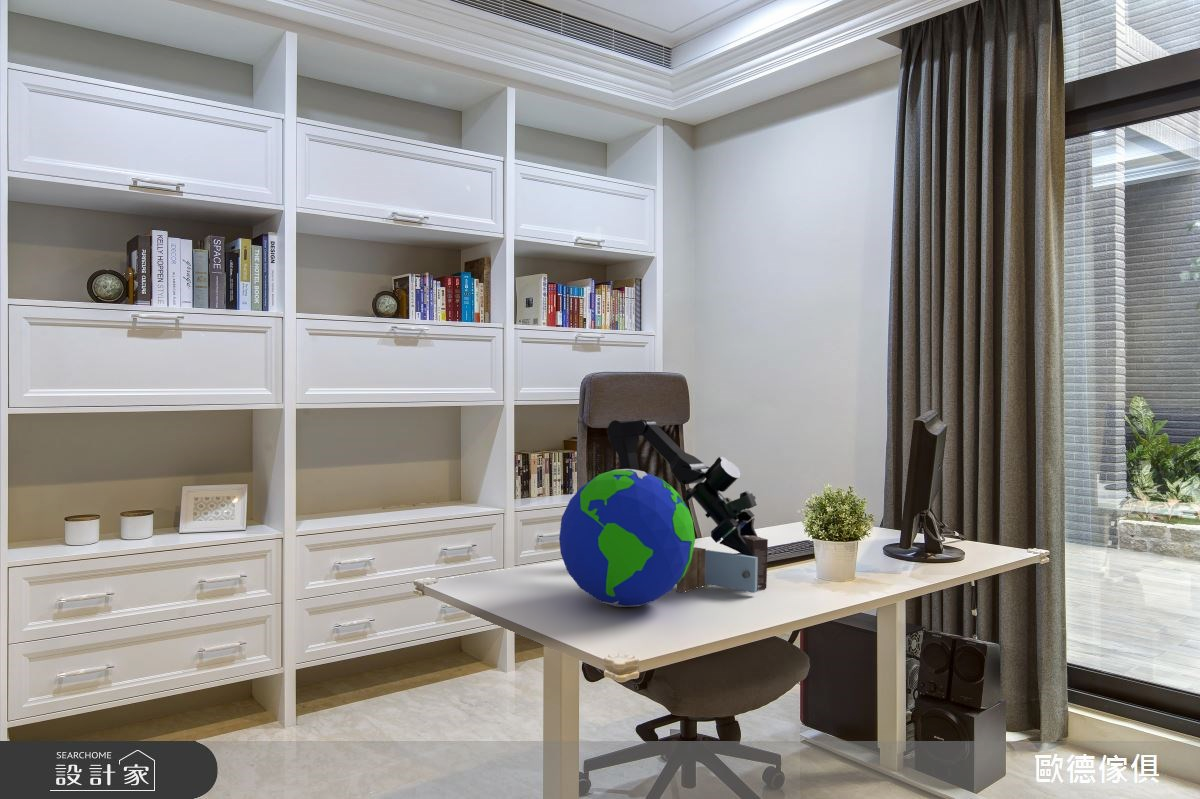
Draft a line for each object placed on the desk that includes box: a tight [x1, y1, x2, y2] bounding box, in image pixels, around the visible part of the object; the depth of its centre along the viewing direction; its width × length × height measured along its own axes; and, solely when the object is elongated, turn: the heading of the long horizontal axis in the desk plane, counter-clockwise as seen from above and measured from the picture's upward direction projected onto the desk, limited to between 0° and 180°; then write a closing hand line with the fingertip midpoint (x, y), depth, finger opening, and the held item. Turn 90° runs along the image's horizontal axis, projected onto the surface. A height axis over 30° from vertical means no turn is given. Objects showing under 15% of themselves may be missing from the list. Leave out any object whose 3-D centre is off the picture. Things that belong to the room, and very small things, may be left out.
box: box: [739, 535, 769, 590], centre depth 199 cm, size 6×4×12 cm
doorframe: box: [676, 546, 707, 593], centre depth 202 cm, size 22×3×9 cm, turn 142°
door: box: [705, 549, 758, 594], centre depth 193 cm, size 13×2×8 cm, turn 54°
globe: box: [558, 468, 696, 608], centre depth 181 cm, size 30×30×30 cm
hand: (756, 552), depth 198 cm, fingers open, 9 cm apart
